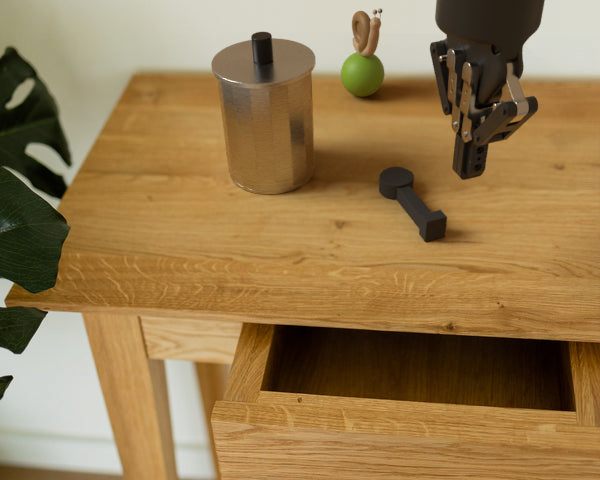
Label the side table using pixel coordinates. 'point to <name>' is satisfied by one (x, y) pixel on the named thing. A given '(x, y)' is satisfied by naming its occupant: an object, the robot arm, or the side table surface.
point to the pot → (269, 136)
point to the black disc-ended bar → (412, 202)
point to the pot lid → (263, 62)
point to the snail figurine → (363, 57)
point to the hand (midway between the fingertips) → (467, 173)
